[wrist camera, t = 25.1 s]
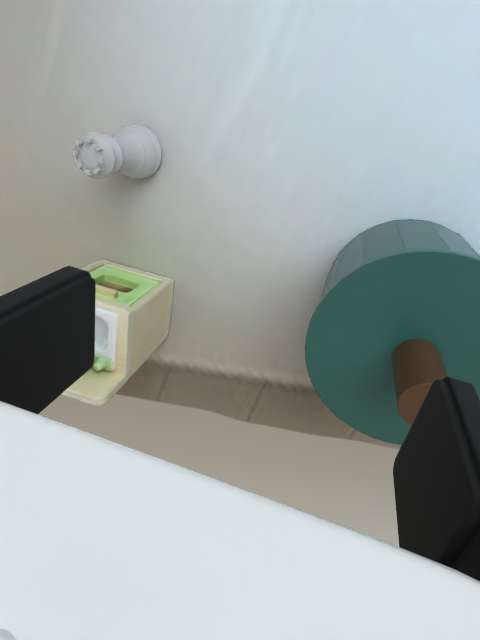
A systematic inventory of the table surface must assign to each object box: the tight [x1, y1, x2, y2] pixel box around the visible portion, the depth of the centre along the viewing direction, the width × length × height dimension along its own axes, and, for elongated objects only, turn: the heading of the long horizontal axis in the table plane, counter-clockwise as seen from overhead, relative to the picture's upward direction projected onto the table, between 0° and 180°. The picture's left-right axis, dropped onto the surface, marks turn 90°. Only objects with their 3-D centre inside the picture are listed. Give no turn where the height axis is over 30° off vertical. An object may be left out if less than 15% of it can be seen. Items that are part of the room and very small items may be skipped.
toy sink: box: [61, 260, 174, 406], centre depth 37 cm, size 8×7×13 cm
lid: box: [305, 248, 480, 445], centre depth 23 cm, size 14×14×6 cm
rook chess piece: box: [72, 124, 161, 179], centre depth 33 cm, size 4×4×8 cm
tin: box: [321, 219, 480, 300], centre depth 30 cm, size 13×13×11 cm
